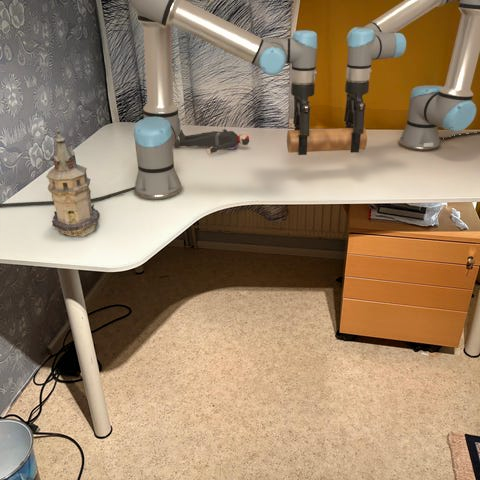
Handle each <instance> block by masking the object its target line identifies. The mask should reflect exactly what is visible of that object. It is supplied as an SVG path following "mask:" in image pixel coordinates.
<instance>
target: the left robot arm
mask: <svg viewBox="0 0 480 480" xmlns="http://www.w3.org/2000/svg"><path fill="white" fill-rule="evenodd" d="M130 3H131V5H132V7H133V9H134V10H135V12H137V22H139V24H140V25H141V26H142V28H143V30H142V31H143V47H144V48H143V49H144V65H145V82H146V83H145V85H146V101H147V102H146V104H145V105H144V106H143V108H142V112H143V113H142V114H143V119H139V120H138V121H136V123H135V124H134V127H133V138H134V144H135V154H136V161H137V175H136V179H135V184H134V186H132V187H128V188H126V189H123V190H119V191H117V192H116V191H115V192H113V193H108V194H105V195H102V196H99V197H94V198H91V203H93V202H98V201H102V200H105V199H109V198H113V197H116V196H119V195H122V194H125V193H128V192H129V193H130V192H132V191H133V192H134V193H135V195H136V196H137V197H138V198H141V199H143V200H148V201H161V200H168V199H171V198H174V197H176V196H178V195H179V194H180V193H181V192H182V182H181V180H180V177H179V176H178V173H177V171H176V169H175V161H174V160H175V159H174V158H175V157H174V144H175V141H176V140H177V138H178V139H179V134H180V131H181V130H182V124H181V120H180V117H179V107H178V105H176V104H175V102H174V79H173V78H174V76H173V75H174V74H173V72H174V71H173V43H172V26H173V27H175V28H178V29H179V30H181V31H183V32H185V33H187V34H188V35H189V34H190V35H191V36H194V37H195V38H198V39H200V40H202V41H204V42H206V43H208V44H210V45H212V46H214V47H216V48H218V49H221V50H223V51H224V52H227V53H229V54H231V55H233V56H235V57H237V58H239V59H241V60H243V61H246V62H248V63H250V64H251V65H253V66H255V67H257V68H259V69H260V70H261V71H262V72H263V73H264V74H266V75H269V76H275V75H279V74H280V73H281V72H282V71H283V70H284V68H285V67H286V64H291V78H290V79H291V80H290V81H291V82H292V83H291V85H290V87H291V88H290V89H291V90H290V94H291V96H293V97H294V109H293V121H292V124H294V125H293V127H294V130H300V135H298V137H299V148H298V152H297V155H298V156H307V153H308V152H307V137H308V136H309V130H310V118H311V117H310V114H311V105H310V101H309V97H313V96H314V95H315V89H316V84H315V82H316V75H317V74H318V71H317V70H316V68H317V56H318V55H317V54H318V34H317V32H315V31H314V30H306V29H305V30H303V29H302V30H295V31H294V32H293V34H292V37H288V38H282V37H280V38H279V37H275V38H274V37H264V38H262V37H260V36H258V35H255V34H254V33H252V32H249V31H248V30H245V29H243V28H241V27H239V26H238V25H236V24H234V23H232V22H230V21H228V20H226V19H224V18H221V17H219V16H217V15H215V14H213V13H212V12H210V11H207V10H206V9H203V8H201V7H199V6H197V5H196V4H193V3H192V2H189V1H188V0H130ZM42 205H44V206H45V205H54V201H53V200H45V201H25V202H23V201H22V202H8V203H7V202H6V203H0V208H4V207H22V206H42Z"/></svg>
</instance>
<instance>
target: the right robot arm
mask: <svg viewBox="0 0 480 480" xmlns="http://www.w3.org/2000/svg"><path fill="white" fill-rule="evenodd" d="M452 2H458V6H457V8H458V10H459V11H460V13H461V15H460V18H459V24H458V29H457V33H456V37H455V41H454V45H453V49H452V54H451V58H450V61H449V62H450V63H449V66H448V70H447V75H446V79H445V84H444V85H443V86H442V85H430V84H429V85H418V86H415V87H414V88H412V90H411V93H410V97H409V103H408V110H407V111H408V112H407V120H406V125H405V127H404V129H403V131H402V133H401V135H400V138H399V141H398V142H399V143H398V144H399V145H400V146H401V147H403V148H405V149H407V150H409V151H410V150H411V151H415V152H416V151H418V152H431V151H435V150H437V149H439V147H440V145H441V144H440V143H441V141H440V140H443V141H444V140H451V139H454V138H457V137H465V136H473V135H479V134H480V130H478V131H476V132H477V133H474V132H475V131H471V132H470V131H469V132H468V133H469V134H466V133H467V132H463V133H458V132H461V131H463V130H465V129H467V128H468V127H469V126H470V125H471V124H472V123H473V121H474V120H475V118H476V115H477V106H476V104H475V103H474V102H473V97H474V93H473V91H472V90H471V87H472V84H473V79H474V75H475V71H476V67H477V64H478V60H479V56H480V0H403V1H401V2H399V3H398V4H397V5H395V6H394V7H392V8H391V9H389V10H387V11H386V12H385V13H383V14H382V15H379V17H376V18H375V19H374V20H372V21H371V22H369V23H367V24H366V25H364V26H363V27H362V26H355V27H352V28H351V29H350V30H349V32H348V33H347V36H346V43H347V47H348V48H347V62H346V63H347V64H346V71H345V79H346V81H345V84H344V85H345V86H344V92H345V93H346V102H345V111H344V118H343V121H344V124H345V128H353V132H352V133H351V134H352V140H351V150H349V151H350V153H353V154H354V153H360V150H359V146H360V136H361V134H363V132H364V131H363V130H364V128H365V112H366V111H365V110H366V106H367V105H366V103H365V102H364V98H363V96H364V95H366V94H368V93H369V90H370V81H369V80H370V79H371V73H372V72H373V70H372V62H373V61H376V60H386V59H394V58H395V59H396V58H399V57H401V56H403V55H404V54H405V52H406V49H407V48H406V47H407V39H406V37H405V35H404V34H403V33H401V32H399V31H401V30H402V29H404V28H405V27H407V26H408V25H410V24H411V23H413V22H414V21H416V20H417V19H419V18H420V17H422V16H423V15H425V14H427V13H429V12H430V11H432V10H433V9H435V8H436V7H437V8H438V7H439V8H440V7H443V6H445V5H446V4H448V3H452ZM438 127H439V128H440V129H444V130H445V131H450V132H452V133H456V134H452V135H453V136H452V135H450V136H451V137H449V136H445V137H444V136H439V128H438ZM459 134H461V135H459ZM454 135H455V136H454ZM443 138H444V139H443Z"/></svg>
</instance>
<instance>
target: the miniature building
mask: <svg viewBox="0 0 480 480" xmlns="http://www.w3.org/2000/svg"><path fill="white" fill-rule="evenodd" d="M56 134H57V136H56V138H55V140H54V141H55V142H56V147H55V154H54V156H52V157H51V161H52V162H53V165H54V167H53V168H51V169H50V170H49V171H48V173H47V174H46V178H47V179H48V182H49V184H48V186H47V190H48V191H49V193H50V194H51V201H54V204H53V205H54V209H55V211H53V217H52V220H51V223H52V225H51V227H54V228H56V229H58V230H59V231H60V234H63V235H64V234H65V235H66V236H69V237H77V236H80V237H83V236H87V235H88V234H90V233H93V232H94V231H95V229H96V226H97V225H98V223H99V220H100V216H101V213H100V212H99V210H98V209H96V208H95V204H92V202H91V199H92V197H91V192H92V191H91V188H90V184H91V178H89V177H88V174H87V167H85V166H84V165H83V166H82V165H80V164H77V160H76V154H75V151H74V150H70V149H69V147H68V145H67V143H66V138H65V137H64V136H63V135H61V130H60V129H56Z"/></svg>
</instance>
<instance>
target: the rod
mask: <svg viewBox="0 0 480 480" xmlns="http://www.w3.org/2000/svg"><path fill="white" fill-rule="evenodd" d="M363 131H364V132H363V134H361V136H360V146H359V151H362V150H365V149H366V147H367V144H368V133H367V129H366V128H365V127H364V130H363ZM352 132H353V128H346V127H341V128H338V127H336V128H315V129H314V128H313V129H309V136H308V137H307V153H315V152H316V153H317V152H318V153H319V152H334V151H335V152H336V151H337V152H339V151H340V152H341V151H351V140H352V134H351V133H352ZM298 135H300V130H295V129H289V130H287V133H286V148H287V149H286V150H287V152H288V153H289V154H291V153H294V154H295V153H298V148H299V137H298Z"/></svg>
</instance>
